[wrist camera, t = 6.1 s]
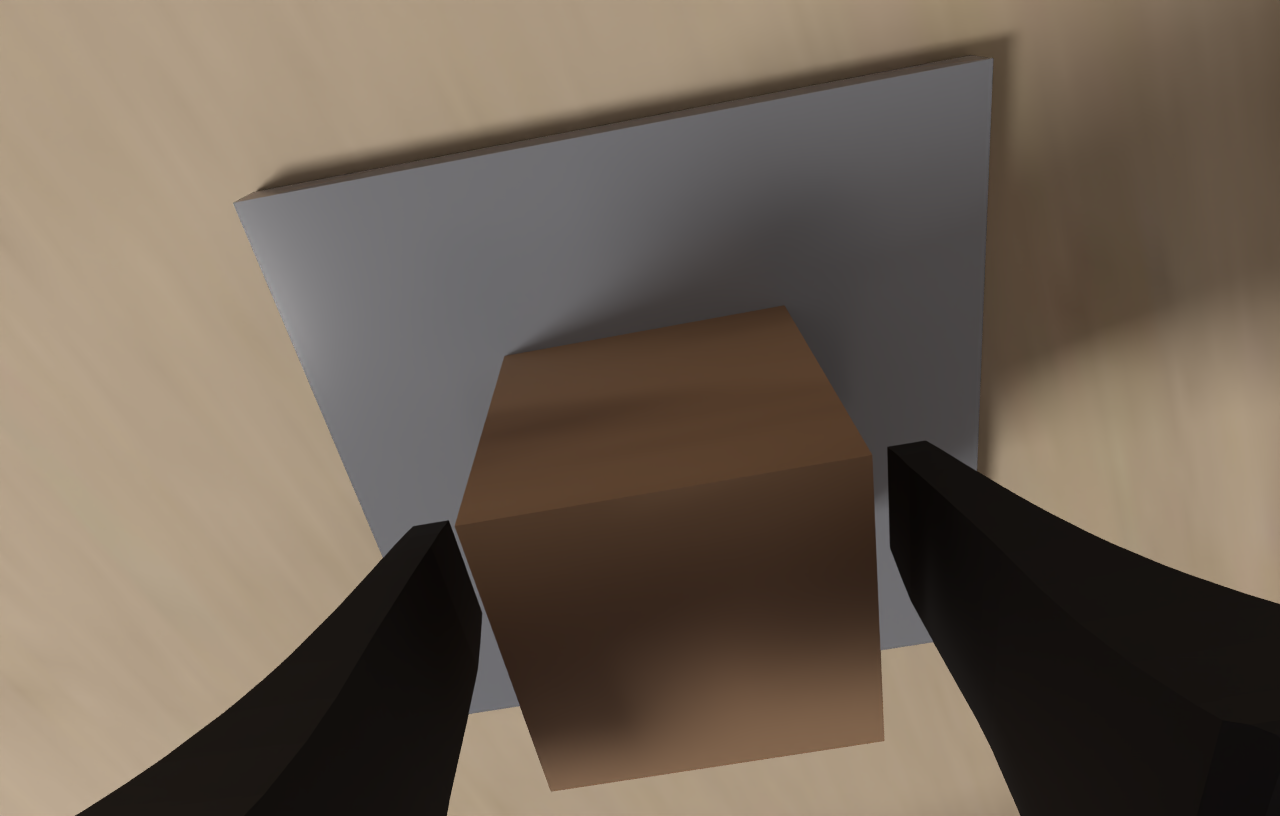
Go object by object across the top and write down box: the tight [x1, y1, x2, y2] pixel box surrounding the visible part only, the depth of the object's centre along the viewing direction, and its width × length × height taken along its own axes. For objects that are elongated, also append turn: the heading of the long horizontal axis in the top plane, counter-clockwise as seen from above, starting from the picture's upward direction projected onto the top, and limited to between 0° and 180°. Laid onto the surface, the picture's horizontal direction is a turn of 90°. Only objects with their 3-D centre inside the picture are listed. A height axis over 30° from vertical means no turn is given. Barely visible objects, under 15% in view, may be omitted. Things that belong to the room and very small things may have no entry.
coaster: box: [233, 55, 993, 714], centre depth 15 cm, size 12×12×1 cm
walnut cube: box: [455, 305, 884, 791], centre depth 12 cm, size 5×5×5 cm
